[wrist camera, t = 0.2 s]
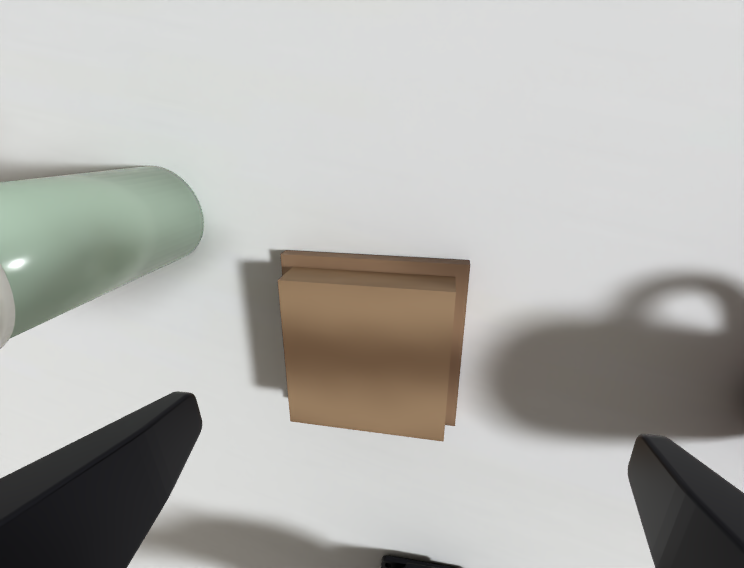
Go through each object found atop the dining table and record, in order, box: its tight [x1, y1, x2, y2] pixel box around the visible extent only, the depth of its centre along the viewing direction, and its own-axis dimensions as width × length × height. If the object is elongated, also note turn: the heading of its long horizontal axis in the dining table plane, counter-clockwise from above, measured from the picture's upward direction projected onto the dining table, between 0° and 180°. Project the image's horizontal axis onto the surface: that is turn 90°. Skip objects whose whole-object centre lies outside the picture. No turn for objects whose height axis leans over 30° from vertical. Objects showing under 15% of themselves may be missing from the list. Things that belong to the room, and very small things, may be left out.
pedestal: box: [278, 250, 470, 441], centre depth 22 cm, size 10×10×3 cm
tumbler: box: [0, 166, 204, 348], centre depth 18 cm, size 6×6×12 cm
